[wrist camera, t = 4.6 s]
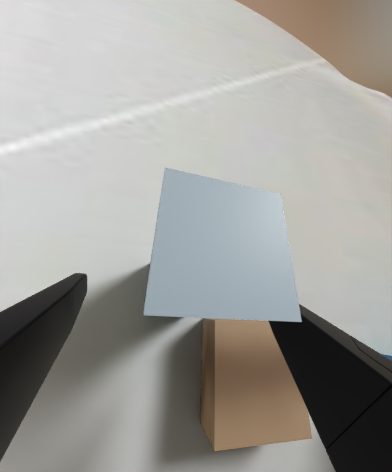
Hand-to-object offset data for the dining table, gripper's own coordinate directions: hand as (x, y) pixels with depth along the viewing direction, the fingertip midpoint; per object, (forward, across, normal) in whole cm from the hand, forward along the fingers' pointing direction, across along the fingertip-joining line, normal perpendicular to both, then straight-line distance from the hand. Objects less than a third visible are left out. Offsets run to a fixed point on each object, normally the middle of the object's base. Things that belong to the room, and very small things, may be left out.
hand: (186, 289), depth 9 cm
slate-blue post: (+6, 0, +5) cm, 8 cm away
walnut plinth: (+2, -7, +9) cm, 12 cm away
